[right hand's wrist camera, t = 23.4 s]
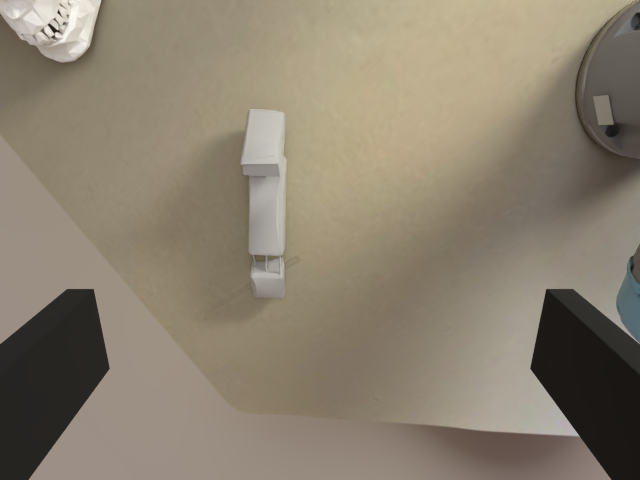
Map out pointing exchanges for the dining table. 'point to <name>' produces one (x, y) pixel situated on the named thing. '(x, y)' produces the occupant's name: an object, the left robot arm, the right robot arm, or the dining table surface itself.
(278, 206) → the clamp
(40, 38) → the skull
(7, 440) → the right robot arm
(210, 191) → the dining table surface
